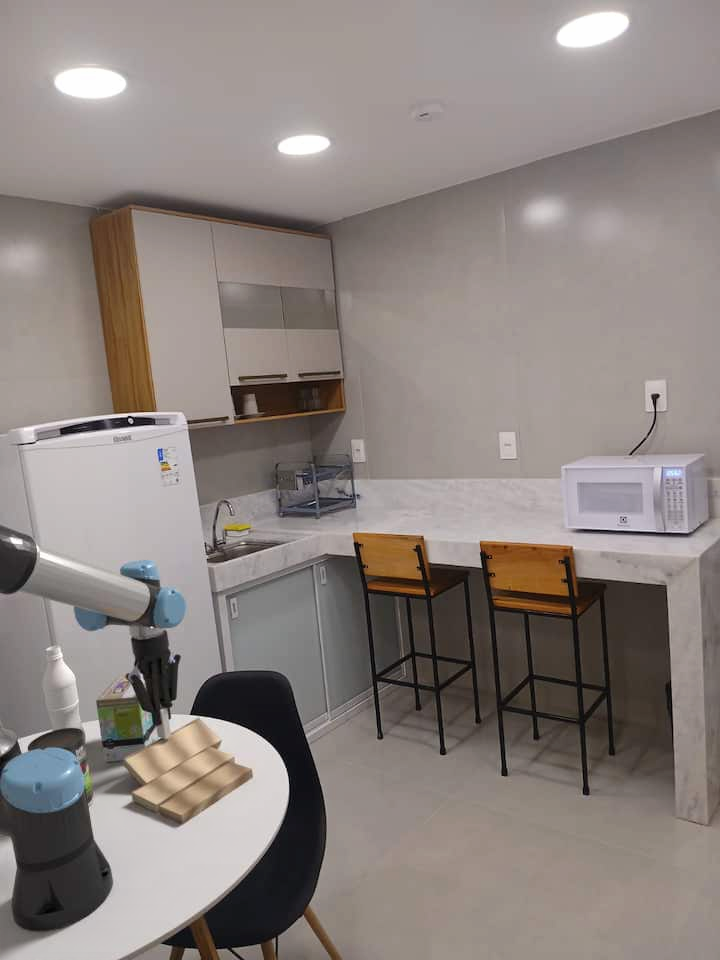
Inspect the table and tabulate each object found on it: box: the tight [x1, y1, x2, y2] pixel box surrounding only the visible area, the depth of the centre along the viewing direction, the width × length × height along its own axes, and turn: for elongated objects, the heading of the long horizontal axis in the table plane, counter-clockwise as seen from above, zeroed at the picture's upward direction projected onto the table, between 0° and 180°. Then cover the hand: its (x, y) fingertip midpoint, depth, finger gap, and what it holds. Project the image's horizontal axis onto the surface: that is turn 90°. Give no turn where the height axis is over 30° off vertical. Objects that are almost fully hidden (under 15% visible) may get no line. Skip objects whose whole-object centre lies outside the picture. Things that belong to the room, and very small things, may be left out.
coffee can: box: [27, 728, 95, 807], centre depth 147 cm, size 10×10×14 cm
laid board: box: [158, 761, 254, 825], centre depth 145 cm, size 18×7×2 cm, turn 142°
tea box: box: [95, 672, 161, 763], centre depth 170 cm, size 15×10×15 cm
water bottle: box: [41, 645, 87, 744], centre depth 171 cm, size 7×7×25 cm
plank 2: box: [131, 746, 236, 814], centre depth 151 cm, size 20×8×2 cm, turn 142°
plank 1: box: [122, 717, 222, 786], centre depth 159 cm, size 20×8×2 cm, turn 142°
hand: (164, 736), depth 160 cm, fingers closed
